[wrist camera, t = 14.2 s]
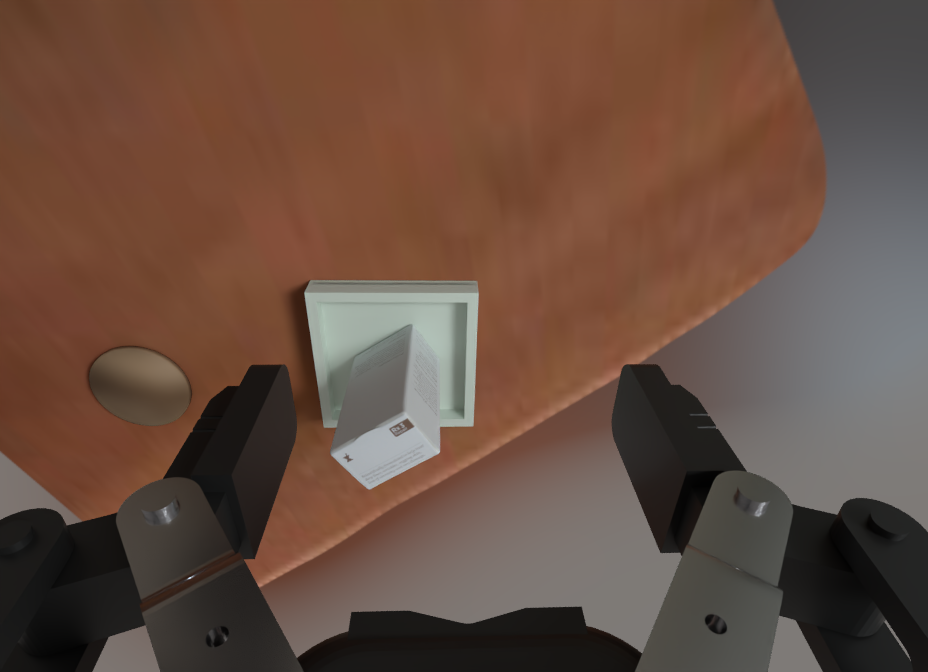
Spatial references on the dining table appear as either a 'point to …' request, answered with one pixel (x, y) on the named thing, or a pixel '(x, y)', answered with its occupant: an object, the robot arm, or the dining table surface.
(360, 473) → the skincare box
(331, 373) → the tray
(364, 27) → the dining table surface
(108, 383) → the coaster
